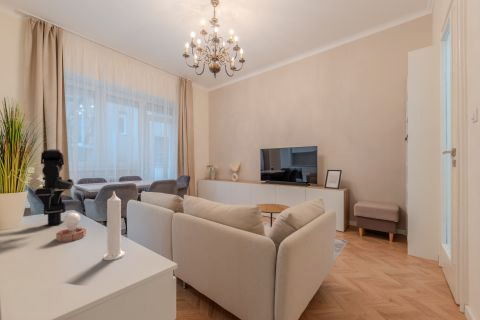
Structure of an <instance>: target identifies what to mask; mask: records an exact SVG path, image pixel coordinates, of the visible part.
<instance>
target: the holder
mask: <svg viewBox="0 0 480 320" xmlns="http://www.w3.org/2000/svg"><path fill="white" fill-rule="evenodd" d="M86 234H87V228H86V227H82V226H81V227H78V226H77V228H76V233H72V234H69V230H68V228H65V229H62V230H59V231H58V232H56V233H55V240H56V241H57V242H60V243H68V242H74V241H77V240H80V239H83V238H84V237H85V236H86Z"/></svg>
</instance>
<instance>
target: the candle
mask: <svg viewBox="0 0 480 320" xmlns="http://www.w3.org/2000/svg"><path fill="white" fill-rule="evenodd" d="M106 201H107V202H106V204H107V205H106V207H107V209H106V210H107V211H106V212H107V213H106V214H107V215H106V217H107V219H106V220H107V221H106V222H107V223H106V224H107V226H106V227H107V228H106V232H107V233H106V234H107V236H106V237H107V239H106V240H107V241H106V243H107V253H105V254H103V259H104V261H115V260H119V259H121V258H123V257H124V256H125V251H124V250H122V206H121V205H122V200H121V198H120V197H118V196H117V195H116V191H114V190H113V191H112V196H111V197H110V198H108V199H107V200H106Z"/></svg>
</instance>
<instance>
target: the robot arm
mask: <svg viewBox="0 0 480 320" xmlns="http://www.w3.org/2000/svg"><path fill="white" fill-rule="evenodd" d="M40 164H41V165H44V166H43V168H42V170H41V171H42V174H43V176H44V177H42V181H44V185H43V186H42V187H39V188H36V189H35V190H34V195H35V196H36V197H38V199H39V200H40V201H41V203H42V205H43V215H44V216H47V223H46V224H44V227H52V226H60V225H61V224H64V221H63V220H62V214H64V213H66V203H64V201H63V197H61V196H62V194H64V193H65V192H66V191H67V190H71V189H72V187H73V186H74V180H73V179H71V178H69V179H65V180H64V179H63V177H62V176H60V172H61V171H62V170H63V166H64V165H65V157H64V154H63V153H62V152H61V150H60V149H57V148H56V149H55V148H54V149H53V148H51V149H43V150H42V152H41V156H40Z"/></svg>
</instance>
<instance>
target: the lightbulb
mask: <svg viewBox="0 0 480 320" xmlns="http://www.w3.org/2000/svg"><path fill="white" fill-rule="evenodd" d="M62 221H64V222H63V224H64V225H65V226H66V227H67V228H66V229H68V230H69V234H72V233H76V228H77V227H78V225H79V223H80V222H81V215H80V214H78V213H77V212H69V213H67V214H66V215H65V216H64V217H63V219H62Z"/></svg>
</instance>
